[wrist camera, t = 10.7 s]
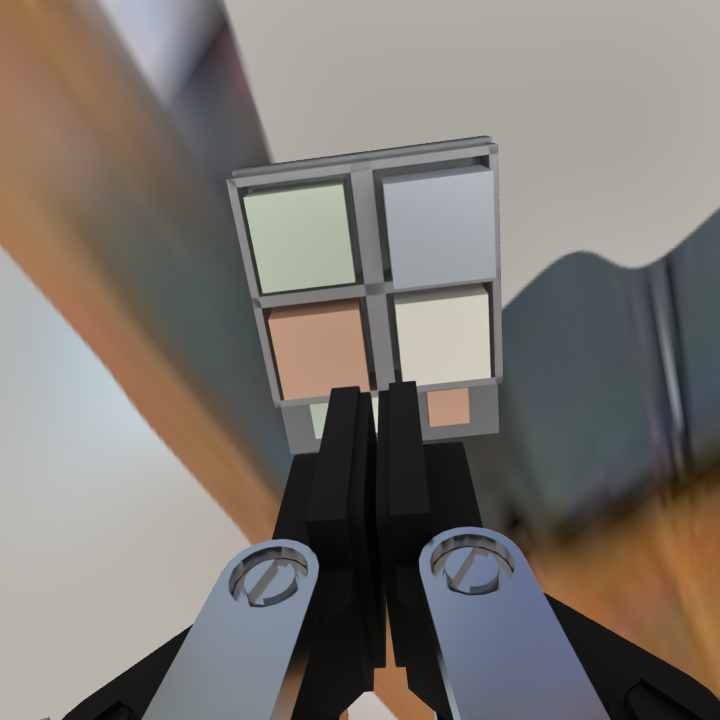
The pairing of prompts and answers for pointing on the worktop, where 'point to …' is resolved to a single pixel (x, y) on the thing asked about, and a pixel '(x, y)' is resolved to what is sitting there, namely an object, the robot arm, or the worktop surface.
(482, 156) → the keypad board
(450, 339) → the ivory key
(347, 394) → the robot arm
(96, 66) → the worktop surface
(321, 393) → the terracotta key
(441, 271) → the slate key
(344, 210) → the sage key
